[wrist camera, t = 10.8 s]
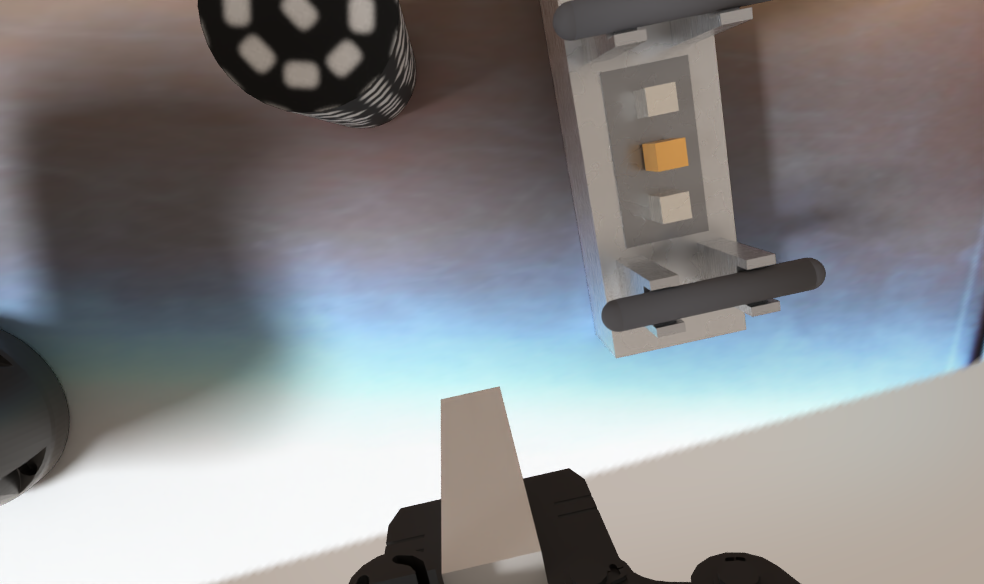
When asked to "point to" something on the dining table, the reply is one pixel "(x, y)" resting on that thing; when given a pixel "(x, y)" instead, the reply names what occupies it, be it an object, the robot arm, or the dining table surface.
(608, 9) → the dark grey rod
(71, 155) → the dining table surface
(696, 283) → the dark grey bar handle
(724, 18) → the white parts holder tray
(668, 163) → the breaker paddle
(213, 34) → the spotted tube
